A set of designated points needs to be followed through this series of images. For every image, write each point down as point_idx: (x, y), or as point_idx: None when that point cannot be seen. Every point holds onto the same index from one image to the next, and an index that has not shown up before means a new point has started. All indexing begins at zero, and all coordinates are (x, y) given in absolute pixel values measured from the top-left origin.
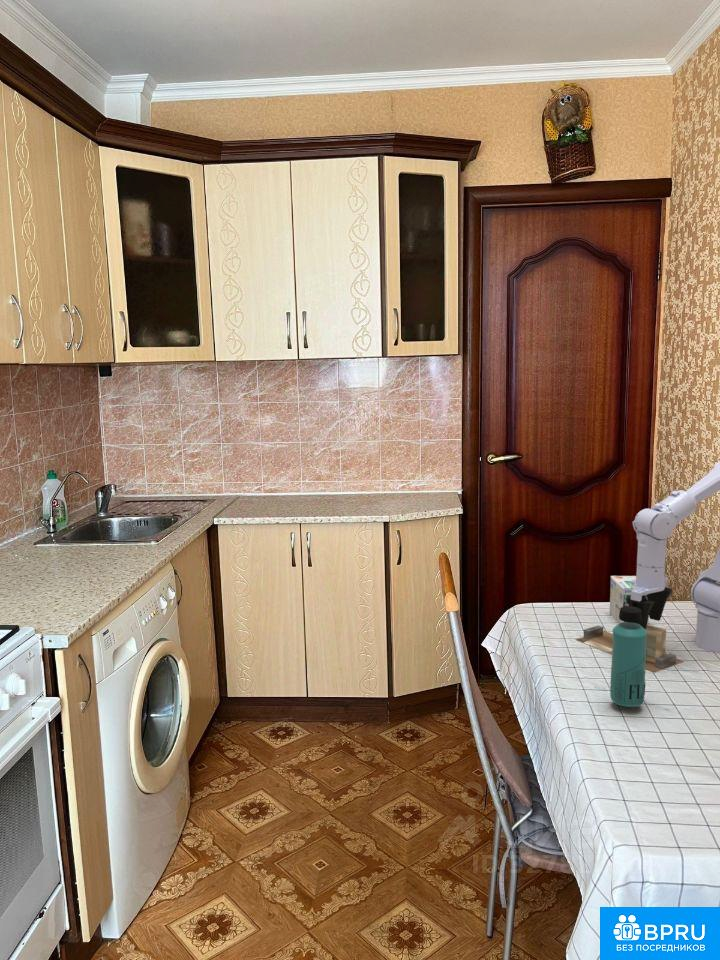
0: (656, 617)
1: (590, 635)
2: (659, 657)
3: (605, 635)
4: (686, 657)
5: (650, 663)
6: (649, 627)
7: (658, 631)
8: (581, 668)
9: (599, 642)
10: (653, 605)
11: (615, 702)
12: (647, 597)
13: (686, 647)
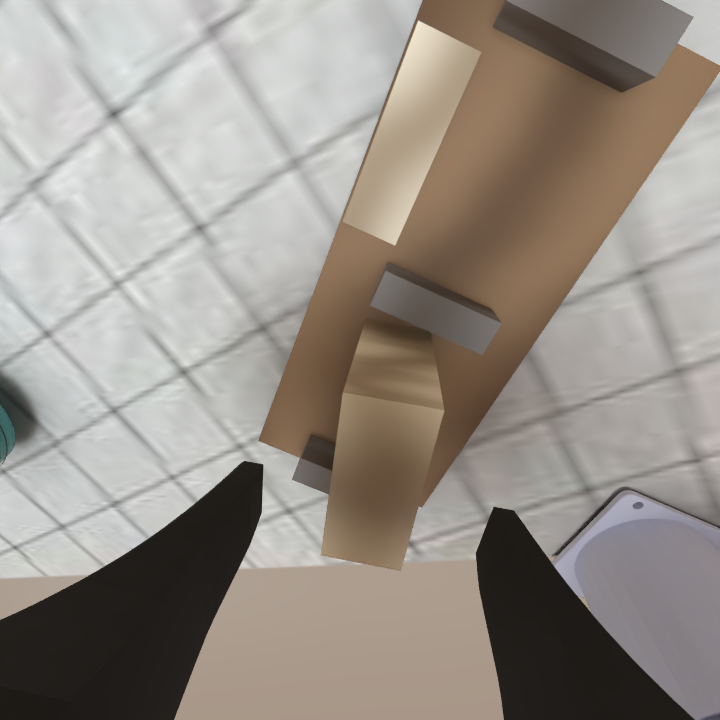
0: (483, 560)
1: (516, 26)
2: (317, 469)
3: (621, 111)
4: (505, 495)
5: (332, 415)
6: (381, 499)
7: (345, 543)
8: (128, 155)
9: (472, 122)
10: (524, 634)
11: None
12: (574, 678)
13: (621, 485)
